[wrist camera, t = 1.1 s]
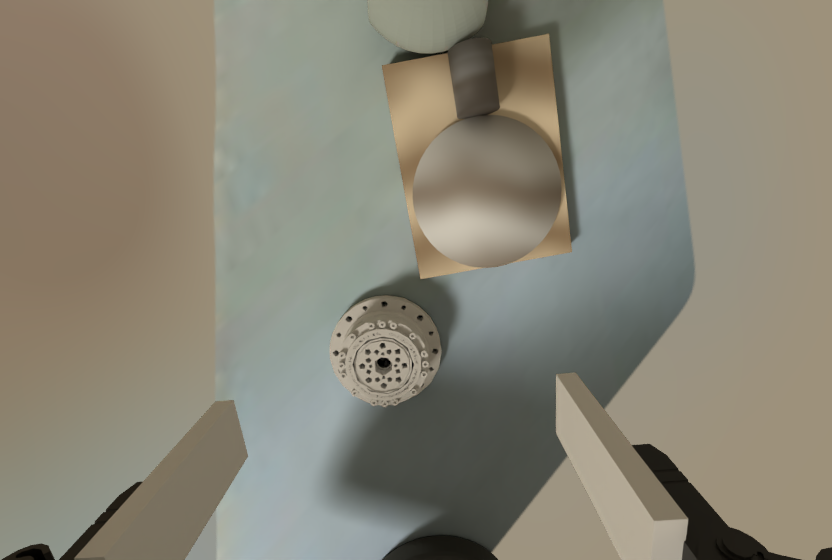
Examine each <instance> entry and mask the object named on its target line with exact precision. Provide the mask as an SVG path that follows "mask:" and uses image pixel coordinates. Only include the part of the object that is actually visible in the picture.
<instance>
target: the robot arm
mask: <svg viewBox="0 0 832 560" xmlns="http://www.w3.org/2000/svg"><path fill="white" fill-rule="evenodd" d="M556 434H557V436H558V438H559V440H560V442H561V444H562V446H563V448H564V450H565V451H566V453H567V455H568V457H569V459H570V461H571V463H572V465H573V467H574V469H575V471H576V473H577V475H578V477H579V479H580V481H581V482H582V484H583V486H584V488H585V490H586V492H587V494H588V496H589V498H590V500H591V502H592V504H593V506H594V508H595V510H596V512H597V513H598V515H599V517H600V519H601V521H602V523H603V525H604V527H605V529H606V530H607V533H608V535H609V537H610V539H611V541H612V543H613V544H614V546H615V548H616V550H617V552H618V554H619V556H620V558H621V560H801V559H796V558H791V557H787V556H782V555H778V554H774V553H771V552H768V551H767V549H766V548H765V547H764V546H763V545H761V544H760V543H759V542H758V541H757V540H755V539H754V538H753V537H751V536H749V535H747V534H745V533H743V532H741V531H740V530H737V529H734V528H730V527H728V526H727V524H726V523H725V522H724V521H723V520H722V519H721V517H720V516H719V515H718V514H717V513H716V512H715V511H714V509H713V508H712V507H711V506H710V505H709V504H708V502H707V501H706V500H705V499H704V498H703V497H702V496H701V494H700V493H699V492H698V491H697V490H696V489H695V488H694V486H693V485H692V484H691V483H689V482H688V479H687V478H686V477H685V476H684V475H683V474H682V472H680V471H679V470H678V468H677V467H676V466H675V464H674V463H673V462H672V461H671V460H670V459H669V458H668V456H667V455H666V454H664V453H663V452H661V451H659V450H658V449H657V448H655V447H653V446H652V445H650V444H643V445H631V444H630V443H629V442H628V440H627V439H626V437H625V436H624V435H623V434H622V432H621V431H620V430H619V428H618V427H617V426H616V424H615V423H614V422H613V421H612V419H611V418H610V417H609V415H608V414H607V413H606V411H605V410H604V409H603V408H602V406H601V405H600V404H599V402H598V401H597V400H596V398H595V397H594V396H593V395H592V393H591V392H590V391H589V389H588V388H587V387H586V385H585V384H584V383H583V382H582V380H581V379H580V378H579V376H578V375H577V374H576V373H564V374H556ZM247 457H248V454H247V450H246V446H245V442H244V438H243V435H242V431H241V427H240V423H239V419H238V415H237V411H236V408H235V404H234V400H228V401H216V402H215V403H214V404H213V405H212V406H211V407H210V408H209V409H208V410H207V411H206V413H205V414H204V415H203V416H202V417H201V418H200V419H199V420H198V421H197V423H196V424H195V425H194V426H193V427H192V428H191V429H190V430H189V432H187V434H186V435H185V436H184V437H183V438H182V439H181V440H180V442H179V443H178V444H177V445H176V446H175V447H174V448H173V449H172V450H171V451H170V453H169V454H168V455H167V456H166V457H165V458H164V459H163V460H162V461H161V462H160V464H159V465H158V466H157V467H156V468H155V469H154V470H153V471H152V472H151V474H150V475H149V476H148V477H147V478H146V479H145V480H144V481H143V482H137V483H135V484H134V485H133V486H131V487H130V488H129V489H127V490H126V491H125V492H123V493H122V494H120V495H119V496H118V497H117V498H116V499H115V501H114V502H113V503H112V504H111V505H110V506H109V507H108V508H107V509H106V512H103V513H102V514H101V515H100V517H99V518H98V519H97V520H96V521H95V524H94V525H91V526H90V527H89V528H88V529H87V530H86V532H85V533H84V534H83V535H82V536H81V537H80V538H79V539H78V540H77V541H76V542H75V543H74V544H73V545H72V547H71V548H70V549H69V550H68V551H67V552H66V553H65V554H64V555H63V556H62V557H61V558H60V559H59V560H185V558H186V557H187V555H188V553H189V552H190V550H191V548H192V547H193V545H194V543H195V542H196V540H197V539H198V537H199V535H200V534H201V532H202V530H203V528H204V527H205V526H206V524H207V522H208V521H209V519H210V517H211V516H212V514H213V512H214V511H215V509H216V508H217V506H218V504H219V503H220V501H221V499H222V498H223V496H224V495H225V493H226V491H227V490H228V488H229V486H230V485H231V483H232V481H233V480H234V478H235V477H236V475H237V473H238V472H239V470H240V468H241V467H242V465H243V464H244V462H245V460H246V459H247ZM2 560H55V559H54V557H53V555H52V553H51V551H50V549H49V546H48V545H44V544H36V545H30V546H28V547H25V548H23V549H20V550H18V551H16V552H14V553H12V554H10V555H9V556H7V557H5V558H3V559H2ZM383 560H498V559H497V558H496V557H495V556H494V555H493V554H492V553H491V552H489V551H488V550H487V549H485V548H484V547H482V546H480V545H479V544H477V543H474V542H472V541H469V540H466V539H463V538H459V537H453V536H430V537H424V538H420V539H416V540H413V541H411V542H408V543H406V544H404V545H402V546H400V547H398V548H397V549H395V550H394V551H392V552H391V553H390V554H389V555H387V556H386V557H385V558H384V559H383ZM816 560H832V548H826V549H822V550H821V551H820V552H819V553H818V555H817V556H816Z"/></svg>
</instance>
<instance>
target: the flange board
mask: <svg viewBox="0 0 832 560" xmlns="http://www.w3.org/2000/svg"><path fill="white" fill-rule="evenodd" d="M382 69H383V75H384V80H385V86H386V91H387V97H388V102H389V108H390V113H391V119H392V124H393V130H394V135H395V141H396V146H397V152H398V158H399V163H400V169H401V174H402V180H403V185H404V191H405V196H406V202H407V207H408V213H409V218H410V224H411V229H412V235H413V240H414V246H415V251H416V257H417V262H418V268H419V274H420V279H424V278H430V277H436V276H441V275H447V274H452V273H458V272H463V271H469V270H474V269H480V268H490V267H498V266H502V265H506V264H509V263H513V262H519V261H524V260H530V259H535V258H541V257H546V256H552V255H558V254H563V253H569V252H572V248H571V238H570V229H569V219H568V210H567V200H566V191H565V181H564V172H563V162H562V153H561V143H560V134H559V124H558V115H557V105H556V96H555V86H554V77H553V67H552V58H551V48H550V39H549V34H545V35H540V36H535V37H529V38H524V39H519V40H514V41H508V42H503V43H498V44H493V45H492V42H491V40H490V39H488V38H483V37H480V38H472V39H468V40H465V41H462V42H460V43H457V44H456V45H454V46H452V47H451V48H450V49H449V50H448V53H445V54H440V55H435V56H429V57H424V58H419V59H414V60H408V61H403V62H398V63H393V64H387V65H382Z"/></svg>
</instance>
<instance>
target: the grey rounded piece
mask: <svg viewBox="0 0 832 560" xmlns="http://www.w3.org/2000/svg"><path fill="white" fill-rule="evenodd" d="M367 3H368V15H369V22H370V23H371V25H372V26H373V27H374V28H375V30H376V31H377V32H378V33H380V34H381V35H382V36H383V37H384V38H385V39H386V40H388V41H389V42H391V43H393V44H394V45H396V46H398V47H400V48H403V49H405V50H408V51H412V52H417V53H431V54H432V53H438V52H444V51H447V50H449V49H450V48H451V47H452V46H454V45H456V44H457V43H460V42H462V41H465V40H468V39H470V38H471V37H472V36H474V35H475V34H476V33H477V32H478V31H479V30H480V29H481V28H482V27H483V25H484V22H485V18H486V12H487V6H488V0H367Z"/></svg>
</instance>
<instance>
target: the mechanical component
mask: <svg viewBox="0 0 832 560" xmlns="http://www.w3.org/2000/svg"><path fill="white" fill-rule="evenodd" d="M383 301H385V302H387V304H385V305H384V304H383V303H382V302H383ZM365 306H366V307H367V308H365ZM403 306H405V307H403ZM418 315H422V317H421V318H418ZM348 316H350V317H352V319H349V318H348ZM430 331H432V332H430ZM433 349H436V350H433ZM336 350H337V351H338V352H337V351H336ZM441 352H442V351H441V344H440V338H439V334H438V331H437V328H436V326H435V324H434V323H433V321H432V319H431V317H430V316H429V315H428V314H427V313H426V312H425V311H424V310H423V309H422V308H420V307H419V306H418V305H416V304H415V303H413V302H411V301H409V300H407V299H405V298H402V297H395V296H389V295H384V296H374V297H371V298H367V299H364V300H362V301H360V302H359V303H357V304H355V305H353V306H352V307H351V308H350V309H349V310H348V311H347V312H346V313H345V314H344V315H343V316H342V317H341V319H340V320H339V322H338V323H337V325H336V327H335V329H334V331H333V333H332V337H331V342H330V360H331V363H332V366H333V370H334V373H335V374H336V376H337V377H338V379H339V380H340V382H341V383H342V385H343V386H344V387H345V388H346V389H348V390H349V391H350V392H351V394H352V395H353V396H356V397H358V398H359V399H361V400H363V401H366V402H368V403H371V405H372V406H375V405H382V406H383V407H387V406H388V405H394V406H396V405H398V403H400V402H403V401H405V400H408V399H410V398H412V397H414V396H416V395H418V394H419V393H420V392H421V391H422V390H423V389H425V388H426V387H427V386H428V385H429V384H430V383H431V382H432V380H433V378H434V376H435V374H436V372H437V371H438V369H439V364H440V358H441ZM378 359H381V360H383V361H385V360H384V359H388V360H390V361H391V364H390V366H388V365H389V363H388V360H387V361H386V362H385V364H384V366H385V367H384V366H380V365H378V364H377V360H378Z"/></svg>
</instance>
